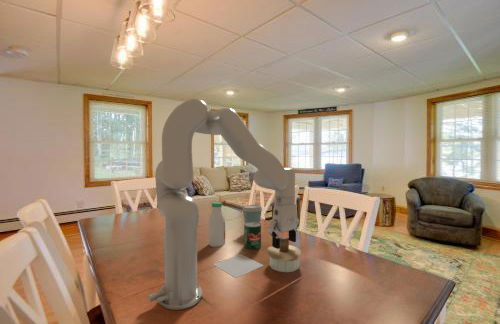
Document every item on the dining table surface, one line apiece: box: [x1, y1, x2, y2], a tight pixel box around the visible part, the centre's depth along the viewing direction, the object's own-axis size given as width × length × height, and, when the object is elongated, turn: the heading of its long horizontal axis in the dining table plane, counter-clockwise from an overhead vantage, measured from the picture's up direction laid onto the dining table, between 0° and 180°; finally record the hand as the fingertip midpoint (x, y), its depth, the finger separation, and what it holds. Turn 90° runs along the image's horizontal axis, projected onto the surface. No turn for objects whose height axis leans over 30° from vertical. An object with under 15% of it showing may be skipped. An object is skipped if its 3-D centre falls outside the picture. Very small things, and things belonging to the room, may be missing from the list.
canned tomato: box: [243, 222, 262, 251], centre depth 116 cm, size 8×8×11 cm
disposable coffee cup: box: [242, 204, 263, 224], centre depth 137 cm, size 11×11×15 cm
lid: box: [266, 236, 302, 261], centre depth 97 cm, size 13×13×6 cm
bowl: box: [269, 257, 300, 273], centre depth 97 cm, size 11×11×5 cm
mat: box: [212, 253, 265, 279], centre depth 98 cm, size 14×14×1 cm
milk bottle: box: [208, 201, 226, 248], centre depth 119 cm, size 8×8×20 cm
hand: (284, 244), depth 97 cm, fingers open, 9 cm apart
